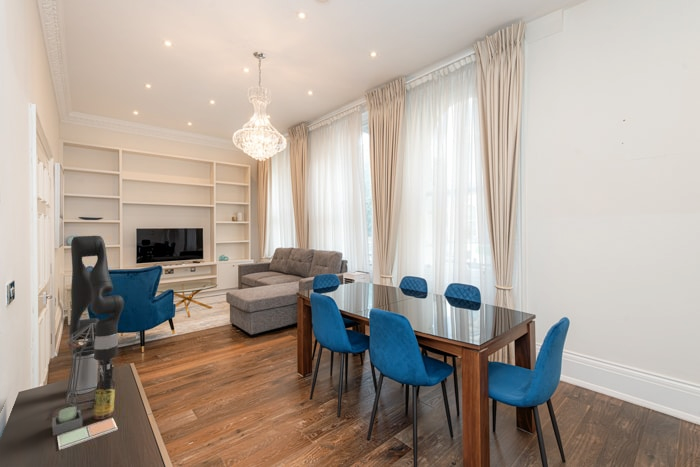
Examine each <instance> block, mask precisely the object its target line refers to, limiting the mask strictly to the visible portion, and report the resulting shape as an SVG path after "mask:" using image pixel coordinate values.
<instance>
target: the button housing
mask: <svg viewBox="0 0 700 467" xmlns="http://www.w3.org/2000/svg"><path fill="white" fill-rule="evenodd" d="M80 410H81V409H78V411H76V419H75V420H71V421H68V422H65V423H62V424H58V422H59V415H57V416H55V417H52V419H51V420H52V422H51V429H52V436H53V437H54V436H57V435H60V434H63V433H66V432H70V431H73V430H76V429H79V428H82V427H83V421H84V420H83V415H82V410H81V411H80Z"/></svg>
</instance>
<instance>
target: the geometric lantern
mask: <svg viewBox="0 0 700 467" xmlns="http://www.w3.org/2000/svg"><path fill="white" fill-rule="evenodd" d="M93 326H94V328H95V329H96V323H90V324H88V325H87V326H85V327H83V328H81V329H79V330H78V332H77V331H76V333H75V332H74V333H72V334H71V338H70V334H69V339H68V341H66V343H67V344H68V347H69V351H70V356H71V365H70V372H69V378H68V383H67V390H66V396H65V402H64V403H65V404H66V405H69V406H70V407H77V411H78V410H80V411H81V412H82V411H86V410H88V409H89V410H90V409H92V408H94V407H95V405H93V406H88V407H85V408H81V409H79V408H78V407H80V406H85V405H89V404H95V397H93V396H95V395H96V393H93V394H91V395H87V396H82V397H78V396H77V394H76V392H77V391H82V390H88V389H93V388H97V387H91V388H86V389H81V390H76V389H77V382H78V375H79V367H80V360H81V359H88V358H81V352H88V351H83V350H84V349H87V348H92V347H94V344H93V342H94V341H95V339H94V334H96V333H93ZM89 327H90V328H89ZM88 328H89V330H88V332H87V333H83V332H84V331H85V330H87V329H88ZM90 329H91V330H90ZM89 331H90V333H89ZM91 332H92V333H91ZM74 334H75V336H74V337H73V335H74ZM91 334H92V339H90V338H91ZM81 335H86V336H85V337H84V336H81ZM88 335H90V338H87V336H88ZM76 336H78V337H79V336H80V337H82V338H85V339H83V340H75V339H76V338H77V337H76ZM75 337H76V338H75ZM74 338H75V339H74ZM73 339H74V340H75V341H74V340H73ZM89 340H90V341H89ZM81 342H82V343H83V344H84V346H82V345H83V344H80V343H81ZM88 342H92V345H93V346H90V347H85V346H86V344H87V343H88ZM85 343H86V344H85ZM74 345H76V346H77V347H78V346H81V347H83V348H84V349H83V348H82V349H81V351H80V352H76V350H75V348H76V347H75V346H74ZM72 348H73V350H75V352H76V353H74V355H73V350H72ZM89 351H94V350H89ZM78 353H79V354H80V356H79V354H78ZM77 354H78V356H79V359H76V358H77V357H78V356H77V357H76V355H77ZM74 356H75V358H74ZM89 358H94V357H89ZM77 360H79V363H78V371H77V378H76V385H75V373H76V361H77ZM73 363H74V364H73ZM72 369H73V371H72ZM73 374H74V377H73ZM72 380H73V389H72ZM74 385H75V391H74ZM71 391H72V392H71ZM74 392H75V394H74ZM74 396H75V397H74ZM69 397H71V401H68V400H69ZM88 397H89V398H88ZM86 398H87V399H86ZM89 401H91V402H89ZM85 402H86V403H85ZM81 403H82V404H81Z"/></svg>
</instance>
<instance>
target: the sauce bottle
mask: <svg viewBox="0 0 700 467" xmlns="http://www.w3.org/2000/svg"><path fill="white" fill-rule="evenodd" d="M114 368H115V365H114V364H113V365H112V379H111V380H110V389H108V390H103V376H102V375H101V379H100V378H99V381H97V388H96V389H95V394H96V395H94V396H95V397H94V398H95V399H94V402H95V403H94V406H95V407H93V408H94V409H93V418H94V419H95V420H105V419H107V418H108V419H109V417H111V416H112V415H113V413H114V410H115V395H116V380H115V379H114V376H113V374H114ZM108 376H109V374H107V375H106V377H108Z"/></svg>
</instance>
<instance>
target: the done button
mask: <svg viewBox="0 0 700 467" xmlns="http://www.w3.org/2000/svg"><path fill="white" fill-rule="evenodd" d="M76 411H77V407H73V406H68V407H65V408H63V409H61V410H59V411H58V416H59V422H58V424H62V423H65V422H68V421H71V420H75V419H76Z"/></svg>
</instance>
